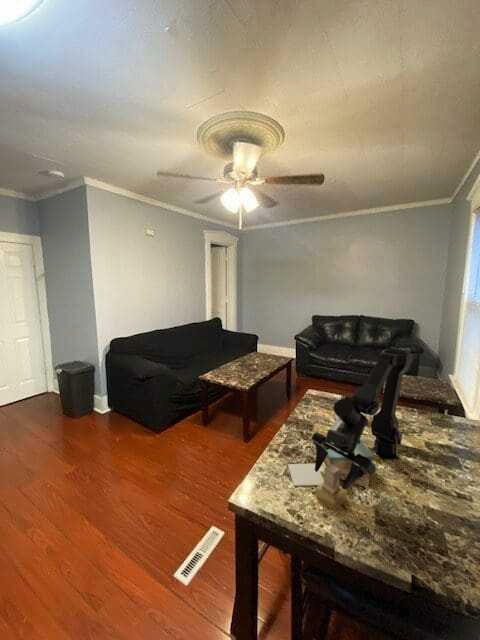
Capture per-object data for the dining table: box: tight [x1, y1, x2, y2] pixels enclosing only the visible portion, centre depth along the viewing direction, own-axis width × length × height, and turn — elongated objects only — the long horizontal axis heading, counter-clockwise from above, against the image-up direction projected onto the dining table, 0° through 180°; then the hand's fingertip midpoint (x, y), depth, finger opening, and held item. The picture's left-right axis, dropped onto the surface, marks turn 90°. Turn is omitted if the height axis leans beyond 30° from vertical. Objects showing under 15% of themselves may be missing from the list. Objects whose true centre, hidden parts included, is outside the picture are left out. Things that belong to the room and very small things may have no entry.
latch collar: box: [315, 482, 348, 511], centre depth 82 cm, size 6×6×3 cm
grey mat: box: [287, 462, 324, 487], centre depth 92 cm, size 10×10×1 cm
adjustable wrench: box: [323, 414, 344, 437], centre depth 121 cm, size 25×6×2 cm, turn 137°
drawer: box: [323, 438, 375, 475], centre depth 97 cm, size 15×11×7 cm
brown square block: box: [323, 464, 340, 495], centre depth 81 cm, size 3×3×10 cm
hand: (328, 479), depth 80 cm, fingers open, 9 cm apart
